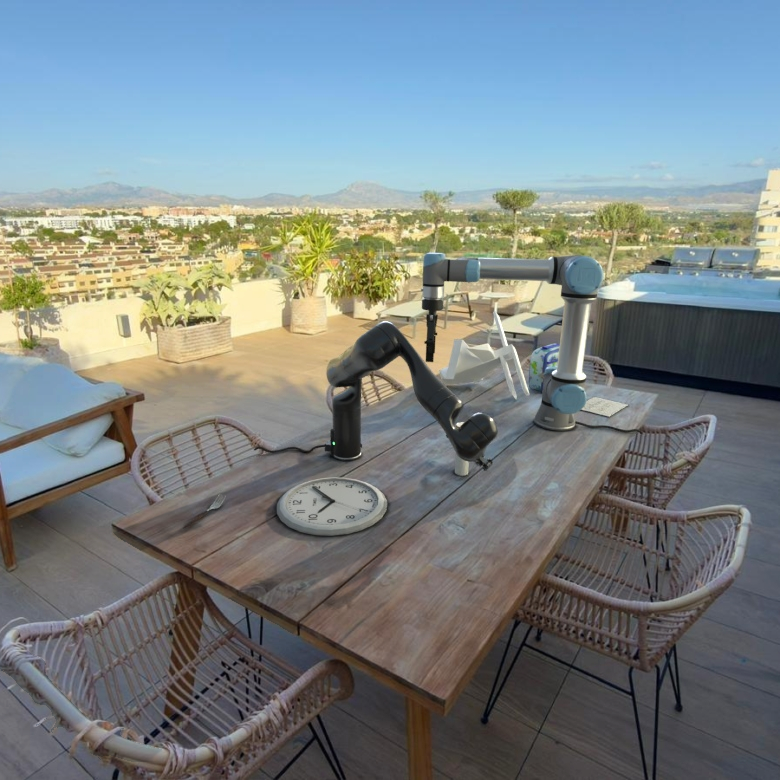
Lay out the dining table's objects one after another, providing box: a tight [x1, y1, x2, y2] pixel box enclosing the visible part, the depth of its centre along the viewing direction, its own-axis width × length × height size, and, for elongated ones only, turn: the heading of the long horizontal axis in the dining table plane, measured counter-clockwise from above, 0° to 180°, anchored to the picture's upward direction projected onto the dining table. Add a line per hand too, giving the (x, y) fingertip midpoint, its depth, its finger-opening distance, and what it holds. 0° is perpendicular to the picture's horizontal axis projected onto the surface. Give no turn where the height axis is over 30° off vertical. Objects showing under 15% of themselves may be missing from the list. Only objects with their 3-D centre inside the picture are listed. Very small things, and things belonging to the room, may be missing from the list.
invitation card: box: [580, 396, 629, 418], centre depth 226 cm, size 21×1×15 cm
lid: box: [455, 421, 465, 429], centre depth 159 cm, size 5×5×2 cm
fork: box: [182, 493, 227, 529], centre depth 136 cm, size 3×16×2 cm, turn 160°
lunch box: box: [528, 343, 560, 392], centre depth 249 cm, size 26×11×21 cm, turn 134°
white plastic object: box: [438, 310, 531, 400], centre depth 245 cm, size 37×45×31 cm
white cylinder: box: [454, 452, 470, 477], centre depth 161 cm, size 4×4×16 cm
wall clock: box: [276, 476, 388, 537], centre depth 142 cm, size 30×2×30 cm
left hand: (467, 451), depth 145 cm, fingers open, 8 cm apart
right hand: (430, 357), depth 190 cm, fingers open, 13 cm apart
